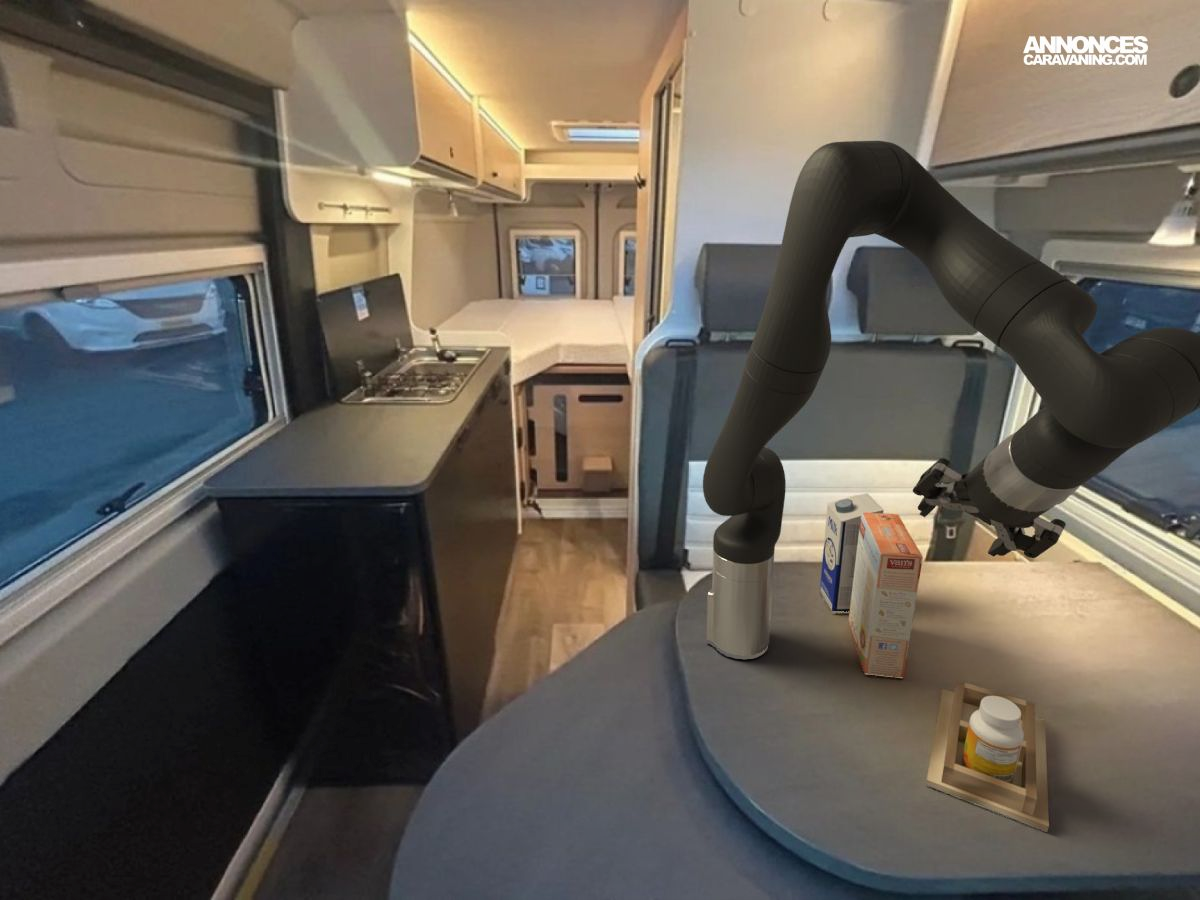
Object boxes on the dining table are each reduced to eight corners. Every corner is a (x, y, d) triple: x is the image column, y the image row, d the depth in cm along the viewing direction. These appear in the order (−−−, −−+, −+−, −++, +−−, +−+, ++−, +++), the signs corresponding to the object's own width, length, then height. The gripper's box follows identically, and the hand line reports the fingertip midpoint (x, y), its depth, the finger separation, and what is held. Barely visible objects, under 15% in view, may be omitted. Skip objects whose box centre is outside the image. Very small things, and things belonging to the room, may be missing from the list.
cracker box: (906, 681, 91) (925, 555, 84) (862, 677, 93) (878, 553, 86) (885, 625, 104) (900, 512, 97) (847, 621, 106) (859, 510, 99)
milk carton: (871, 614, 107) (884, 508, 101) (832, 615, 108) (842, 510, 101) (856, 591, 114) (867, 491, 107) (819, 592, 114) (828, 492, 108)
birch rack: (925, 786, 74) (929, 763, 73) (941, 694, 89) (945, 674, 87) (1047, 833, 68) (1053, 809, 67) (1043, 726, 82) (1048, 705, 81)
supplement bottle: (969, 746, 78) (981, 684, 75) (1018, 770, 75) (1034, 706, 71) (954, 772, 75) (967, 708, 72) (1006, 799, 71) (1022, 732, 68)
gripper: (1115, 485, 61) (1029, 538, 75) (971, 413, 66) (916, 476, 80) (1086, 544, 58) (1003, 587, 73) (939, 466, 63) (889, 520, 78)
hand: (958, 529), depth 76 cm, fingers open, 8 cm apart
